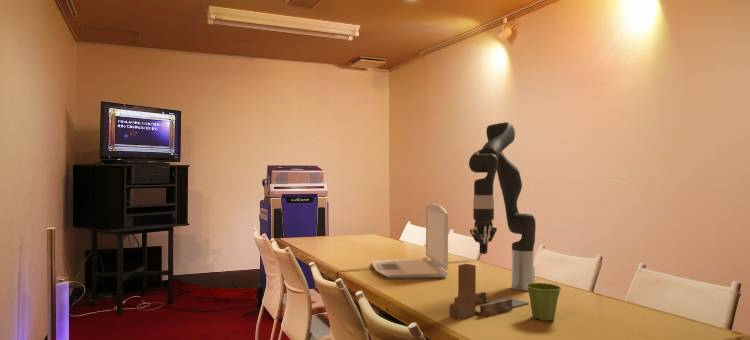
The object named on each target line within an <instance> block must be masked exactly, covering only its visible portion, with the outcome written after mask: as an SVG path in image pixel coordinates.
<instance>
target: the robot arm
mask: <svg viewBox="0 0 750 340" xmlns="http://www.w3.org/2000/svg"><path fill="white" fill-rule="evenodd" d="M485 133H486V137H487V142H486V143H485V144H484V145H483V147H482V148H481V149H478V151H475V152H474V153H473V154H472V155H471V156H470V158H469V161H468V166H469V169H470V170H471V171H472V172H473V173H477V174H478V173H481V174H482V173H483V174H484V173H486V175H485V177H484V178H478V179H476V180H474V183H473V184H474V185H473V202H472V203H473V204H472V207H473V208H472V210H473V211H472V214H473V215H472V216H473V220H474V224H473V226H474V227H473V228H472V229H469V233H470V234H471V236H472V238H473V240H474V241H475V243H478V244H479V254H481V255H487V254H488V248H489V247H488V246H489V245H488V244H489V243H490V242H492V241H493V239H494V236H495V234H496V233H497V231H498V228H497V227H494V226H493V221H494V220H495V200H494V182H495V178H496V174H497V178H498V183H499V186H500V189H501V193H502V197H503V203H504V208H505V215H506V223H507V227H508V230H509V232H511V233H512V234H517V235H521V237H520V239H519V240H517V241H514V242H512V244H511V289H512V290H516V291H522V292H526V291H528V288H527V287H526V284H529V283H536V282H535V266H534V247H535V242H536V241H535V240H536V230H537V229H536V226H537V224H536V218H535V217H534V215H533V214H530V213H520V212H519V209H518V199H519V196H520V194H521V192H522V187H523V182H522V178H521V174H520V171H519V168H518V167H517V166H516V165H515V164H514V163H513V162H512V161H511V160H510V159H508V157H507V156H506V155H505V154H504V152H503V151H504V150H505V149H506V148H508V146H510V145H511V144H512V143H513V142H514V141H515V137H516V131H515V128H514V125H513V123H511V122H509V121H508V122H504V121H503V122H500V123H499V122H498V123H495V124H494V123H493V124H490V125H489V124H488V125H487V127H486V132H485Z"/></svg>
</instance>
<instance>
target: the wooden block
mask: <svg viewBox="0 0 750 340" xmlns="http://www.w3.org/2000/svg"><path fill="white" fill-rule="evenodd" d="M476 268H477V267H476V265H475V264H469V263H463V264H459V265H458V272H457V273H458V277H457V279H458V280H457V281H458V282H457V283H458V284H457V285H458V286H457V287H458V290H457V291H458V293H457V300H456V301H455V300H454V302H453V303H451V304H449V318H451V317H453V318H452V319H454V318H456V319H455V320H457V319H460V320H463V318H464V319H468V318H472V317H476V315H475V310H476V305H475V304H476V292H477V291H476V288H477V285H476V282H477V281H476V277H477V276H476V275H477V274H476ZM467 317H468V318H467Z"/></svg>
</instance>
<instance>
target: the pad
mask: <svg viewBox="0 0 750 340" xmlns="http://www.w3.org/2000/svg"><path fill="white" fill-rule="evenodd" d="M509 298H510V299H512V309H515V308H518V307H523V306H526V305H527V306H528V305H529V303H530V302H528V301H523V300H519V299H515V298H512V297H508V296H503V297H499V298H496V299H491V300H489V301H492V302H495V301H500V300H504V299H509Z"/></svg>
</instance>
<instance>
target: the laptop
mask: <svg viewBox="0 0 750 340" xmlns="http://www.w3.org/2000/svg"><path fill="white" fill-rule="evenodd" d="M372 266H373V268H374V270H375V272H378V273H379V274H380V275H382V276H384V277H386V278H388V279H440V278H441V279H445V278H447V276H448V274H449V273H448V272H447V271H449V212H448V211H447V210H446V209H445V208H444V207H443V206H442V205H439V204H436V203H430V204H429V205H428V206H426V207H425V257H424V256H423V257H422V259H374V260H373V262H372Z"/></svg>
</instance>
